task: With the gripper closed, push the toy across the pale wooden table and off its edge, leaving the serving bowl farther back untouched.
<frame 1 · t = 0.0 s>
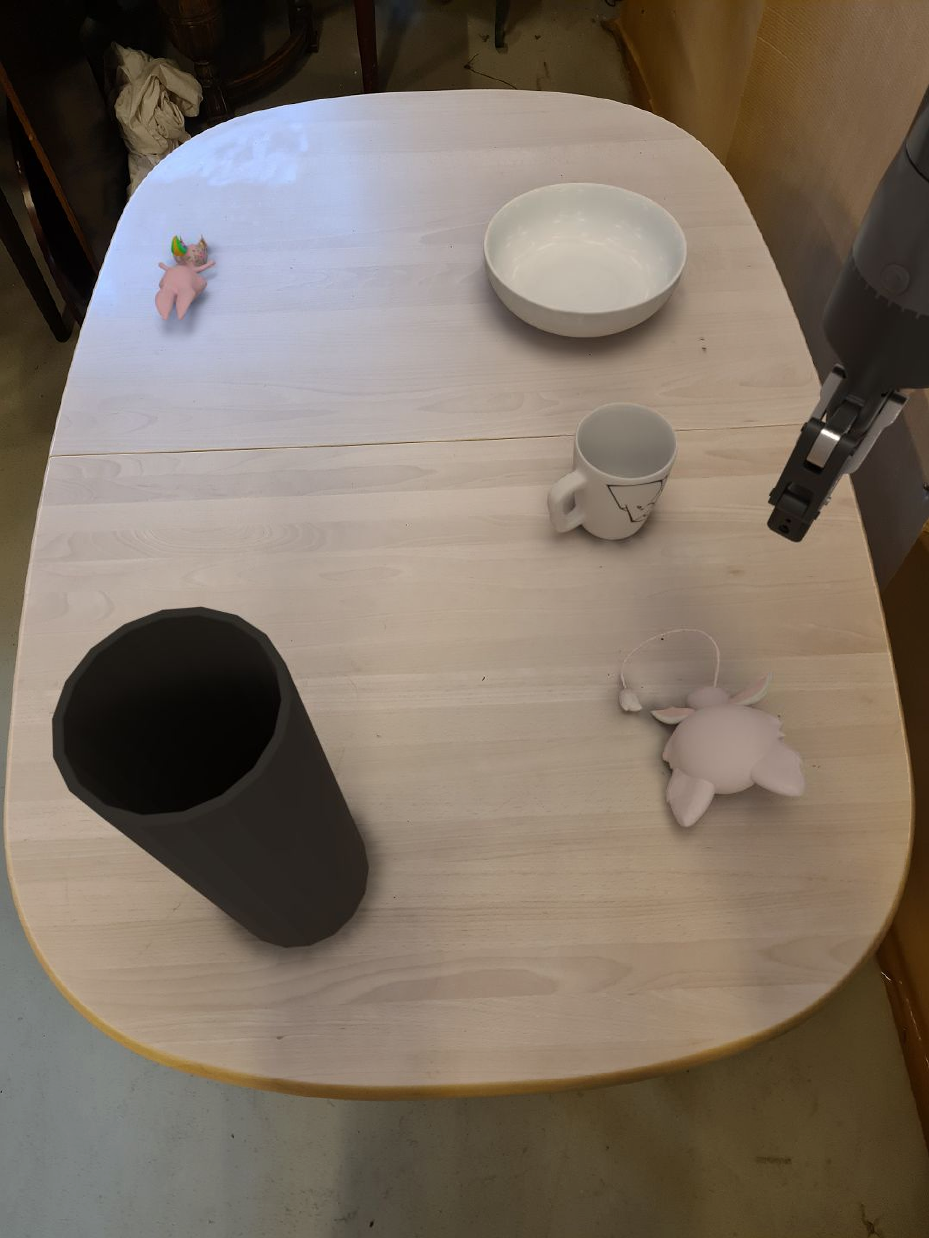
hand: (817, 486, 52), 22 cm above the table, tool pointing down, fingers open, 8 cm apart
vase: (299, 874, 63), on the table
pink soft figure: (189, 294, 95), on the table
serving bowl: (577, 298, 93), on the table
toy: (691, 747, 67), on the table
mug: (596, 521, 78), on the table
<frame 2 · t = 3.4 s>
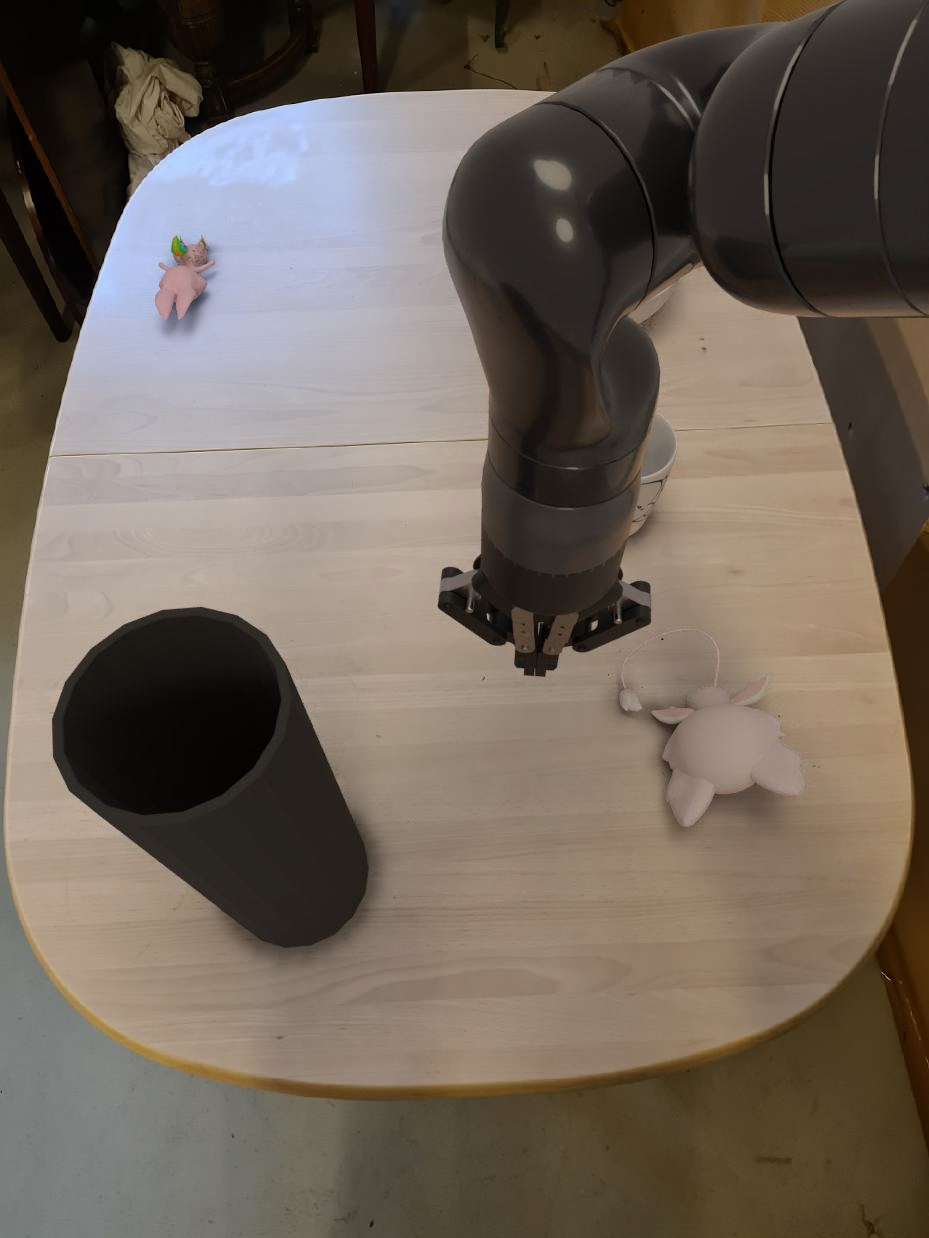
hand: (535, 663, 57), 12 cm above the table, tool pointing down, fingers closed
nothing on the table moved.
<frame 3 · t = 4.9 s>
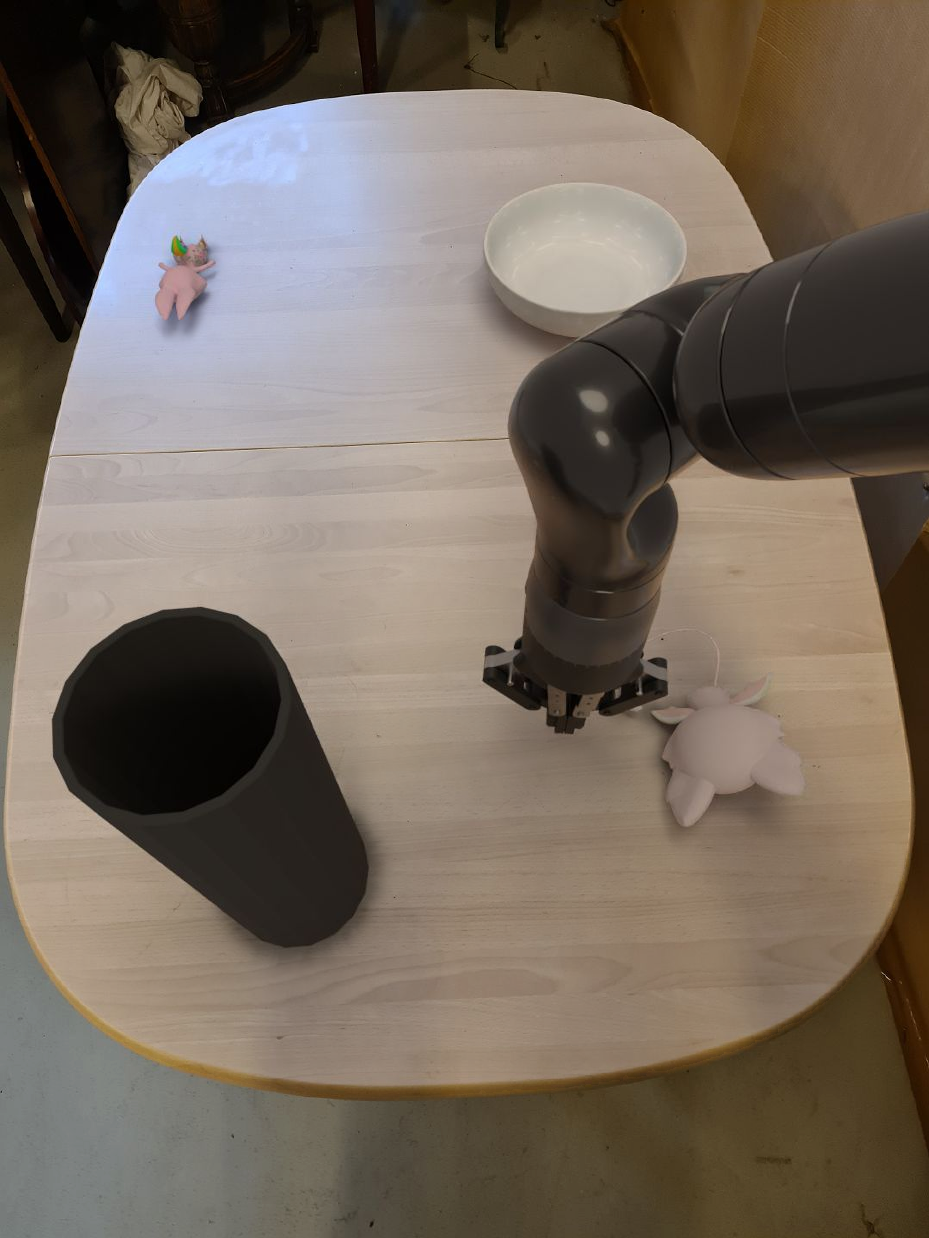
hand: (564, 722, 65), 3 cm above the table, tool pointing down, fingers closed
nothing on the table moved.
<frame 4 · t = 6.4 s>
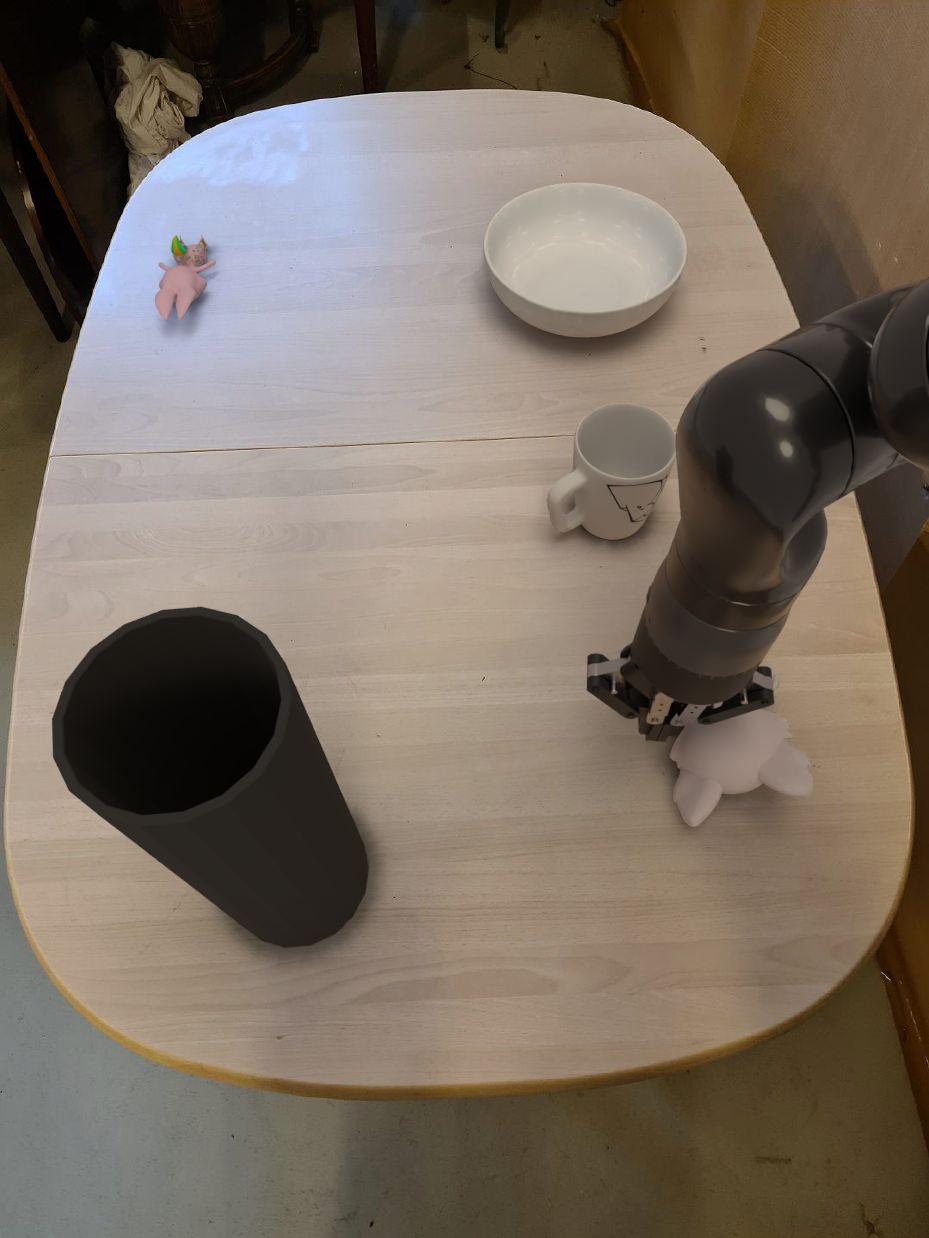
hand: (654, 729, 65), 3 cm above the table, tool pointing down, fingers closed
toy: (699, 747, 67), on the table, touching gripper
everything else where it was.
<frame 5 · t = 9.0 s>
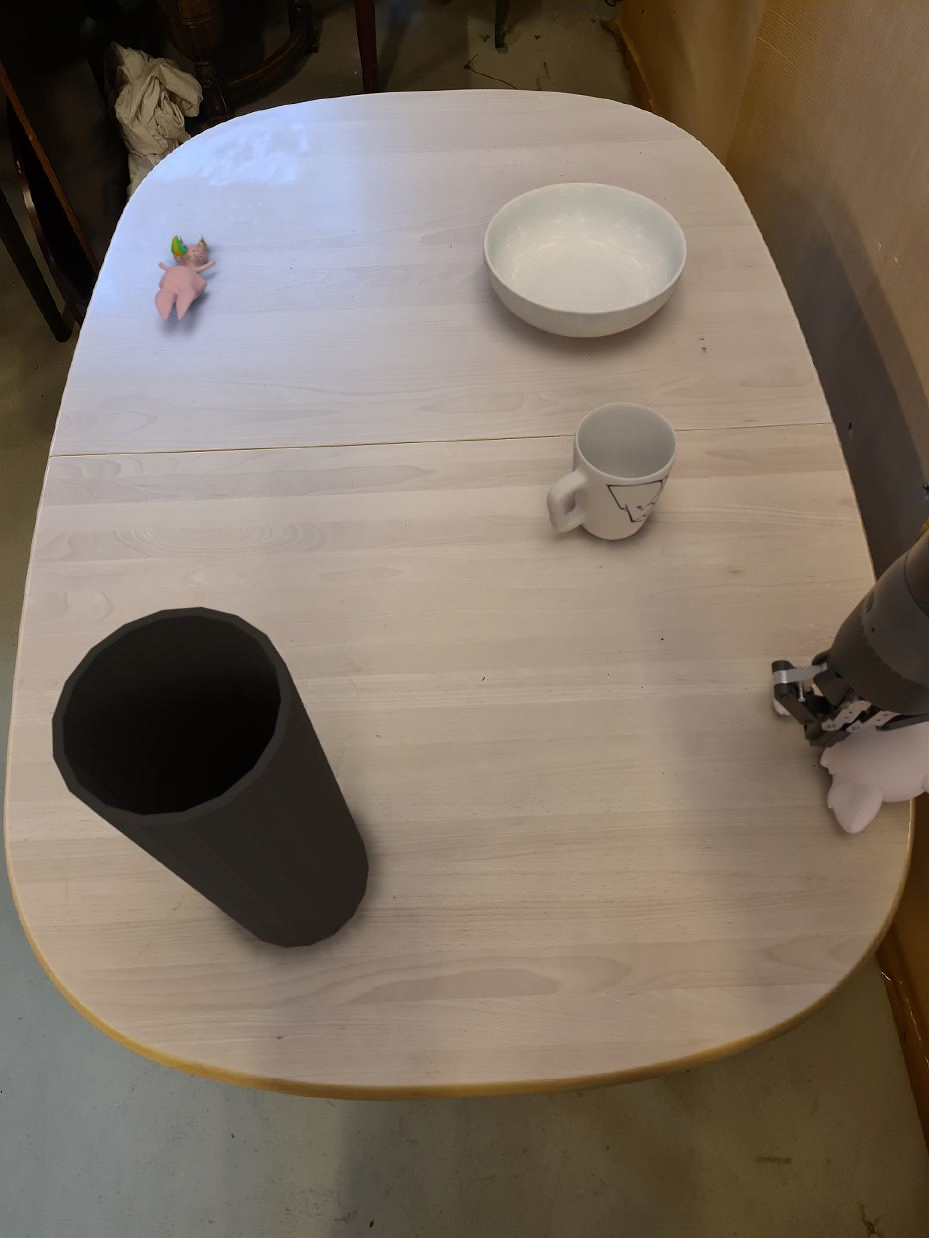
hand: (818, 734, 64), 3 cm above the table, tool pointing down, fingers closed
toy: (847, 754, 67), on the table, touching gripper
everything else where it was.
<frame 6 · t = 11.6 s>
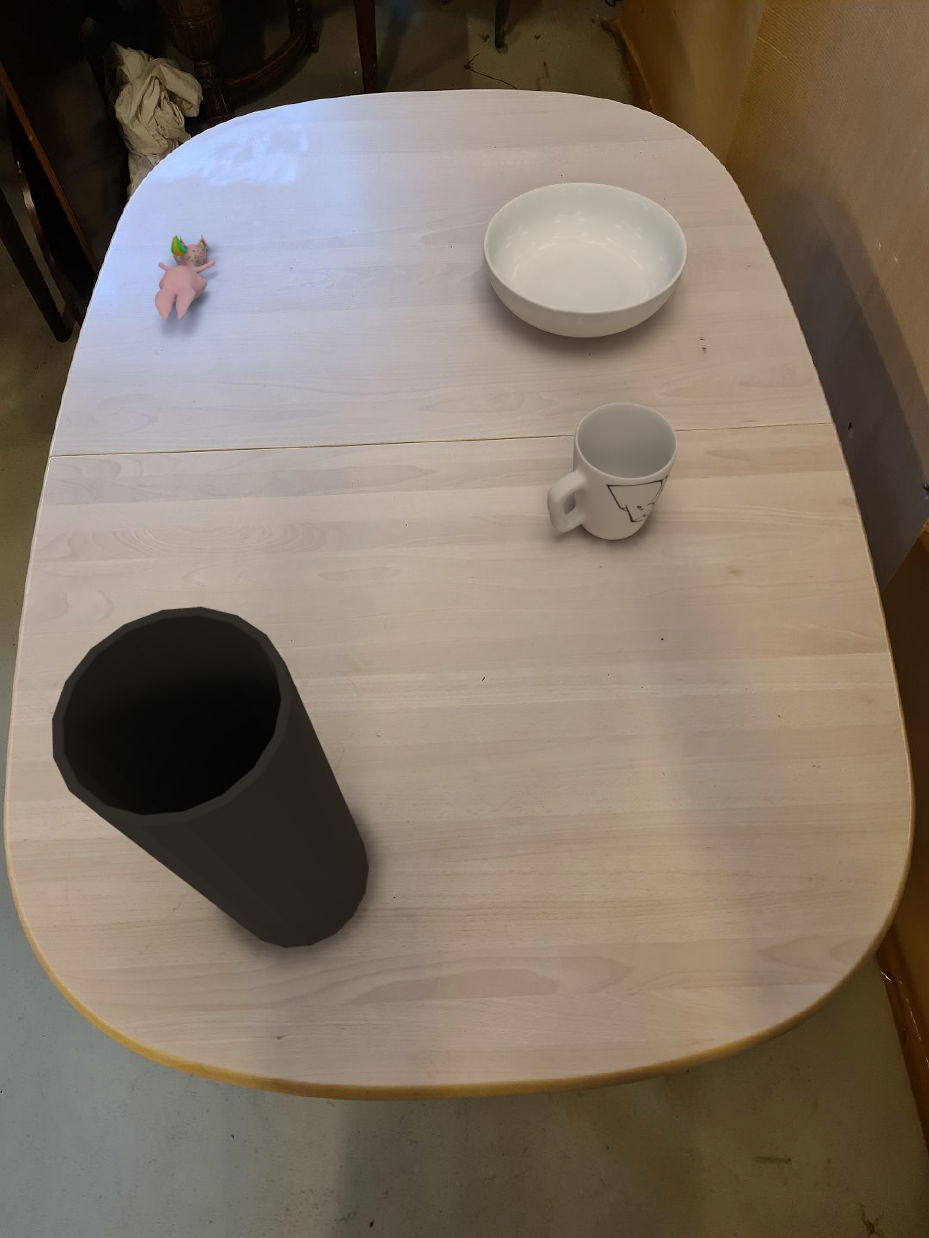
toy: (816, 901, 119), on the floor
everything else where it was.
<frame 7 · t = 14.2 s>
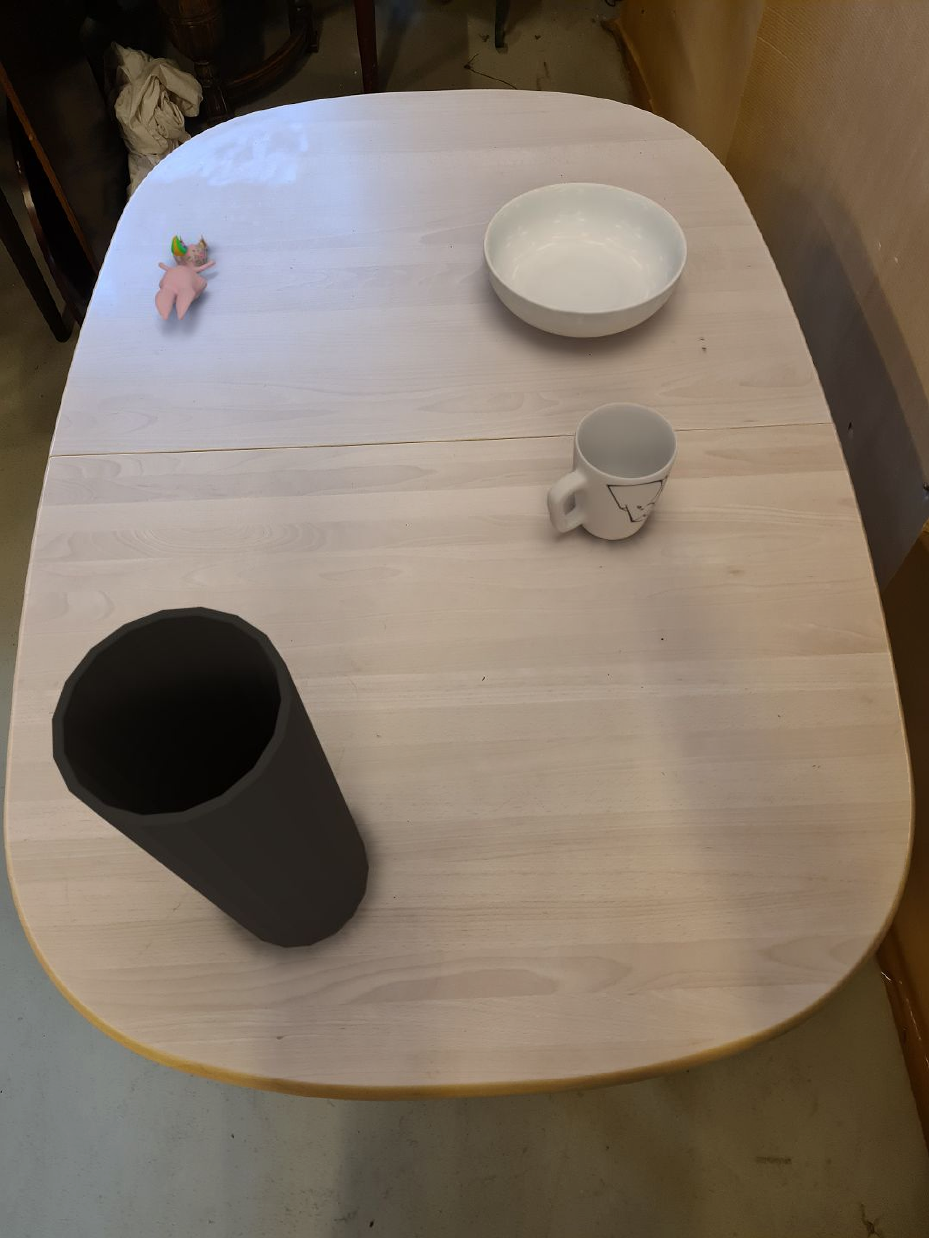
nothing on the table moved.
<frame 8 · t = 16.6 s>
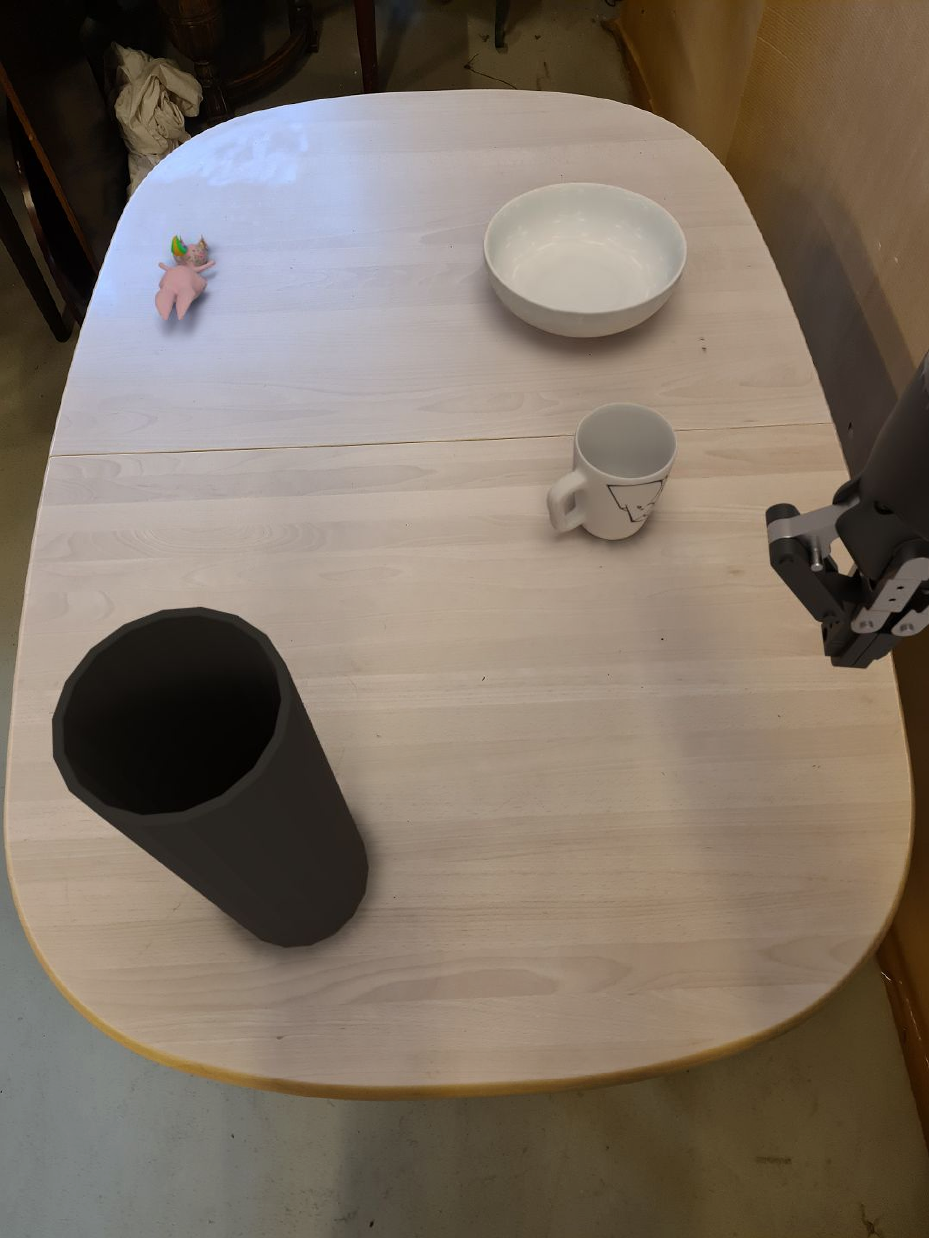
hand: (845, 650, 41), 27 cm above the table, tool pointing down, fingers closed
nothing on the table moved.
at the end: toy on the floor; serving bowl moved 0.2 cm from its start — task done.
